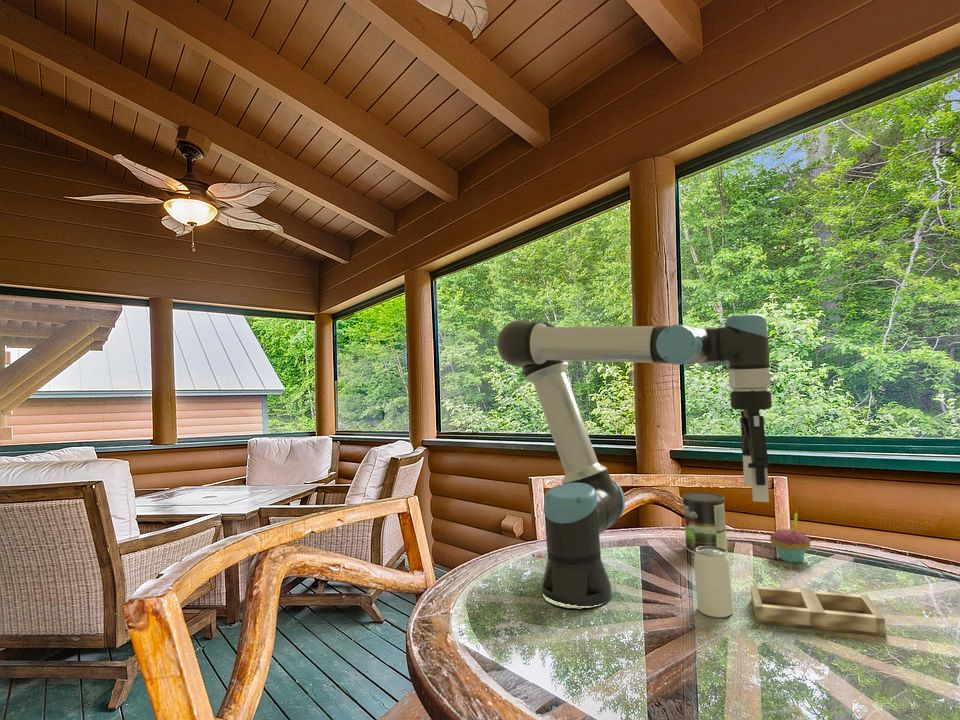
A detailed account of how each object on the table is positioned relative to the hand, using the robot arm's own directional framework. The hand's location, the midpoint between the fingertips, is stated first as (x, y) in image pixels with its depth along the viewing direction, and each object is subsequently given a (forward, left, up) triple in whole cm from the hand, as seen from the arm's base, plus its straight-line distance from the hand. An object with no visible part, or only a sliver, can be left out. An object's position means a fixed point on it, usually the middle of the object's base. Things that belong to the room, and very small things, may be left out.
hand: (755, 493), depth 107 cm
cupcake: (+9, +27, -22) cm, 36 cm away
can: (-9, -7, -22) cm, 25 cm away
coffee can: (-10, +30, -22) cm, 39 cm away
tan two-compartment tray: (+8, -5, -22) cm, 24 cm away
